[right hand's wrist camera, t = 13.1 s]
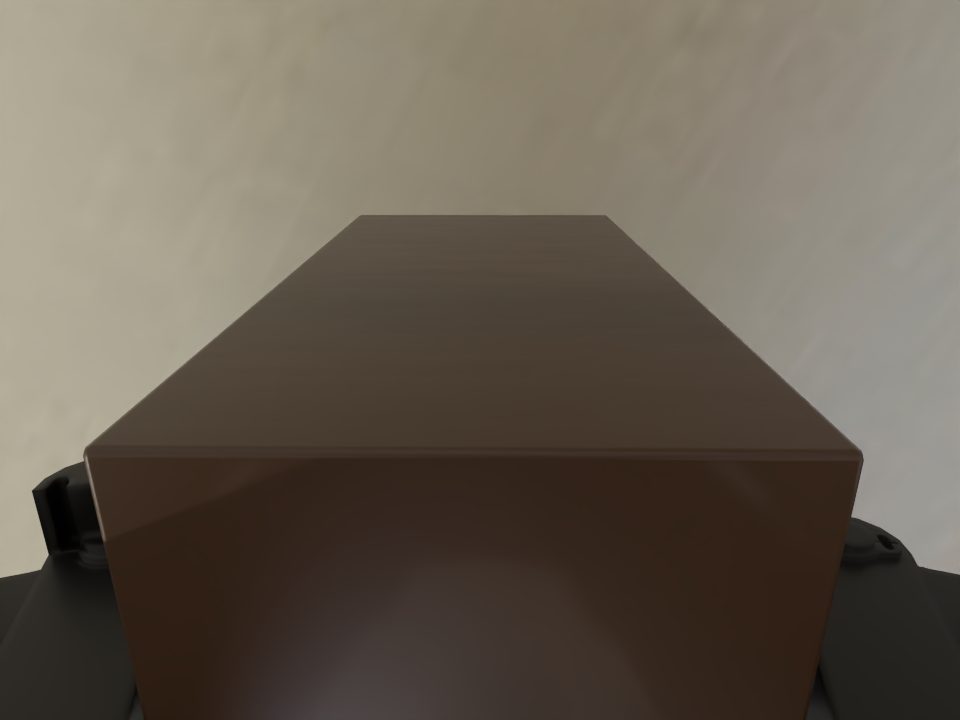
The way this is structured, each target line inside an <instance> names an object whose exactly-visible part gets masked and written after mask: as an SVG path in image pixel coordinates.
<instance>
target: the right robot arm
mask: <svg viewBox="0 0 960 720" xmlns="http://www.w3.org/2000/svg"><path fill="white" fill-rule="evenodd" d="M32 493H33V497H34V500H35V504H36V508H37V512H38V515H39V519H40V523H41V527H42V530H43V534H44V538H45V542H46V545H47V549H48V553H49V556H48V557H47V559H46V561H45V563H44V565H43V567H42V569H41V570H38V571H34V572H30V573H24V574H19V575H14V576H9V577H3V578H0V720H144V716H143V712H142V708H141V703H140V699H139V695H138V690H137V686H136V682H135V677H134V673H133V669H132V665H131V660H130V656H129V652H128V647H127V643H126V639H125V634H124V630H123V626H122V621H121V617H120V613H119V608H118V604H117V600H116V595H115V591H114V587H113V583H112V578H111V574H110V570H109V565H108V561H107V557H106V552H105V548H104V544H103V539H102V535H101V531H100V526H99V522H98V518H97V513H96V509H95V505H94V500H93V496H92V492H91V488H90V483H89V479H88V475H87V470H86V466H85V462H84V461H83V462H80V463H77V464H74V465H71V466H69V467H66V468H64V469H62V470H60V471H58V472H56V473H54V474H52V475H51V476H49V477H47V478H45V479H44V480H43V481H42V482H41V483H40V484H39V485H38V486H37V487H36V488H34V489H33V490H32ZM806 720H960V575H958V574H953V573H947V572H942V571H937V570H932V569H928V568H924V567H919V566H917V564H916V562H915V560H914V558H913V556H912V554H911V553H910V552H909V551H908V550H907V548H906V547H905V546H904V545H903V544H902V543H901V541H900V540H898V539H897V538H895V537H894V536H892V535H891V534H889V533H888V532H886V531H884V530H883V529H881V528H879V527H877V526H875V525H872V524H870V523H867V522H865V521H862V520H860V519H857V518H852V517H851V519H850V524H849V528H848V533H847V537H846V542H845V546H844V551H843V555H842V560H841V564H840V569H839V573H838V578H837V582H836V587H835V591H834V596H833V600H832V605H831V609H830V614H829V618H828V623H827V627H826V632H825V636H824V641H823V645H822V650H821V654H820V659H819V663H818V667H817V672H816V676H815V681H814V685H813V690H812V694H811V699H810V703H809V708H808V712H807V717H806Z"/></svg>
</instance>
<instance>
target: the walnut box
mask: <svg viewBox="0 0 960 720" xmlns="http://www.w3.org/2000/svg"><path fill="white" fill-rule="evenodd" d="M83 457H84V462H85V466H86V470H87V475H88V479H89V483H90V488H91V492H92V496H93V500H94V505H95V509H96V513H97V518H98V522H99V526H100V531H101V535H102V539H103V544H104V548H105V552H106V557H107V561H108V565H109V570H110V574H111V578H112V583H113V587H114V591H115V595H116V600H117V604H118V608H119V613H120V617H121V621H122V626H123V630H124V634H125V639H126V643H127V647H128V652H129V656H130V660H131V665H132V669H133V673H134V677H135V682H136V686H137V690H138V695H139V699H140V703H141V708H142V712H143V716H144V720H806V717H807V712H808V708H809V703H810V699H811V694H812V690H813V685H814V681H815V676H816V672H817V667H818V663H819V659H820V654H821V650H822V645H823V641H824V636H825V632H826V627H827V623H828V618H829V614H830V609H831V605H832V600H833V596H834V591H835V587H836V582H837V578H838V573H839V569H840V564H841V560H842V555H843V551H844V546H845V542H846V537H847V533H848V528H849V524H850V519H851V515H852V510H853V506H854V501H855V497H856V492H857V488H858V483H859V479H860V474H861V470H862V466H863V461H864V460H863V454H862V451H861V450H860V449H859V448H858V447H856V446H855V445H854V444H853V443H852V442H851V441H850V440H849V439H848V438H847V437H846V436H845V435H843V434H842V433H841V432H840V431H839V430H838V429H837V428H836V427H835V426H834V425H833V424H831V423H830V422H829V421H828V420H827V419H826V418H825V417H824V416H823V415H822V414H821V413H820V412H818V411H817V410H816V409H815V408H814V407H813V406H812V405H811V404H810V403H809V402H808V401H807V400H805V399H804V398H803V397H802V396H801V395H800V394H799V393H798V392H797V391H796V390H795V389H794V388H792V387H791V386H790V385H789V384H788V383H787V382H786V381H785V380H784V379H783V378H782V377H781V376H779V375H778V374H777V373H776V372H775V371H774V370H773V369H772V368H771V367H770V366H769V365H768V364H766V363H765V362H764V361H763V360H762V359H761V358H760V357H759V356H758V355H757V354H756V353H754V352H753V351H752V350H751V349H750V348H749V347H748V346H747V345H746V344H745V343H744V342H743V341H741V340H740V339H739V338H738V337H737V336H736V335H735V334H734V333H733V332H732V331H731V330H730V329H728V328H727V327H726V326H725V325H724V324H723V323H722V322H721V321H720V320H719V319H718V318H717V317H715V316H714V315H713V314H712V313H711V312H710V311H709V310H708V309H707V308H706V307H705V306H704V305H702V304H701V303H700V302H699V301H698V300H697V299H696V298H695V297H694V296H693V295H692V294H691V293H689V292H688V291H687V290H686V289H685V288H684V287H683V286H682V285H681V284H680V283H679V282H678V281H676V280H675V279H674V278H673V277H672V276H671V275H670V274H669V273H668V272H667V271H666V270H664V269H663V268H662V267H661V266H660V265H659V264H658V263H657V262H656V261H655V260H654V259H653V258H651V257H650V256H649V255H648V254H647V253H646V252H645V251H644V250H643V249H642V248H641V247H640V246H638V245H637V244H636V243H635V242H634V241H633V240H632V239H631V238H630V237H629V236H628V235H627V234H625V233H624V232H623V231H622V230H621V229H620V228H619V227H618V226H617V225H616V224H615V223H614V222H612V221H611V220H610V219H609V218H608V217H607V216H605V215H361V216H359V217H358V218H357V219H355V220H354V221H353V222H352V223H351V224H350V225H348V226H347V227H346V228H345V229H344V230H342V231H341V232H340V233H339V234H338V235H337V236H335V237H334V238H333V239H332V240H331V241H329V242H328V243H327V244H326V245H325V246H323V247H322V248H321V249H320V250H319V251H318V252H316V253H315V254H314V255H313V256H312V257H310V258H309V259H308V260H307V261H306V262H305V263H303V264H302V265H301V266H300V267H299V268H297V269H296V270H295V271H294V272H293V273H292V274H290V275H289V276H288V277H287V278H286V279H284V280H283V281H282V282H281V283H280V284H279V285H277V286H276V287H275V288H274V289H273V290H271V291H270V292H269V293H268V294H267V295H265V296H264V297H263V298H262V299H261V300H260V301H258V302H257V303H256V304H255V305H254V306H252V307H251V308H250V309H249V310H248V311H247V312H245V313H244V314H243V315H242V316H241V317H239V318H238V319H237V320H236V321H235V322H234V323H232V324H231V325H230V326H229V327H228V328H226V329H225V330H224V331H223V332H222V333H221V334H219V335H218V336H217V337H216V338H215V339H213V340H212V341H211V342H210V343H209V344H207V345H206V346H205V347H204V348H203V349H202V350H200V351H199V352H198V353H197V354H196V355H194V356H193V357H192V358H191V359H190V360H189V361H187V362H186V363H185V364H184V365H183V366H181V367H180V368H179V369H178V370H177V371H176V372H174V373H173V374H172V375H171V376H170V377H168V378H167V379H166V380H165V381H164V382H163V383H161V384H160V385H159V386H158V387H157V388H155V389H154V390H153V391H152V392H151V393H149V394H148V395H147V396H146V397H145V398H144V399H142V400H141V401H140V402H139V403H138V404H136V405H135V406H134V407H133V408H132V409H131V410H129V411H128V412H127V413H126V414H125V415H123V416H122V417H121V418H120V419H119V420H118V421H116V422H115V423H114V424H113V425H112V426H110V427H109V428H108V429H107V430H106V431H105V432H103V433H102V434H101V435H100V436H99V437H97V438H96V439H95V440H94V441H93V442H91V443H90V444H89V445H88V446H87V447H86V448H85V450H84V456H83Z"/></svg>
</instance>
